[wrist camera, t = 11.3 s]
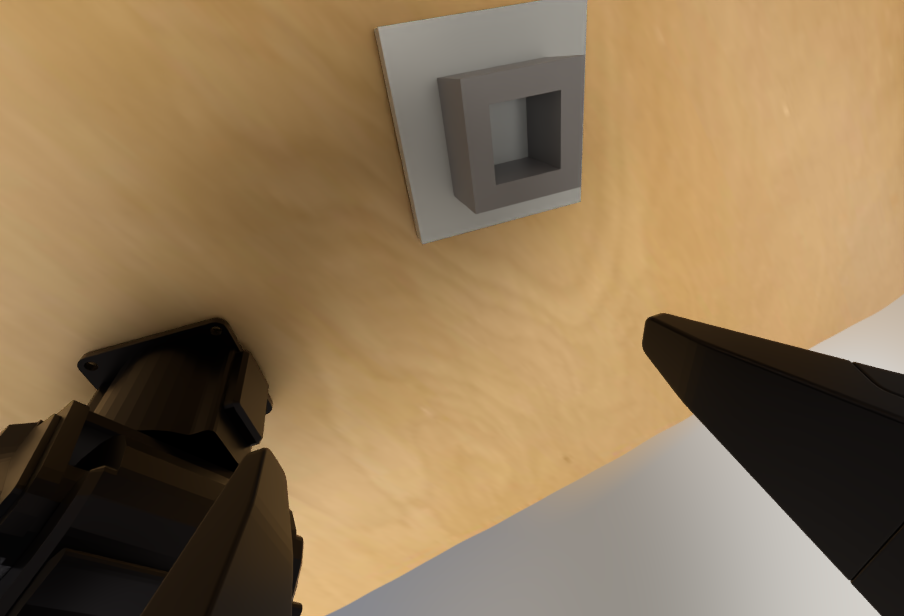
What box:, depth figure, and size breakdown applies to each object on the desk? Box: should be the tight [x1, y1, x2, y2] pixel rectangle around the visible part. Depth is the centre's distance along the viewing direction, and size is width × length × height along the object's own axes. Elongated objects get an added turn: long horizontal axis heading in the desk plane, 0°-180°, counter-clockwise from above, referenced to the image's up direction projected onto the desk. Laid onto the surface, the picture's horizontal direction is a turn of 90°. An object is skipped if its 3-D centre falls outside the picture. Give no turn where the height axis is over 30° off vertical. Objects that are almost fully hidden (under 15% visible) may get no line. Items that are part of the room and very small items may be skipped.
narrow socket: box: [374, 0, 587, 244], centre depth 17 cm, size 9×9×4 cm
